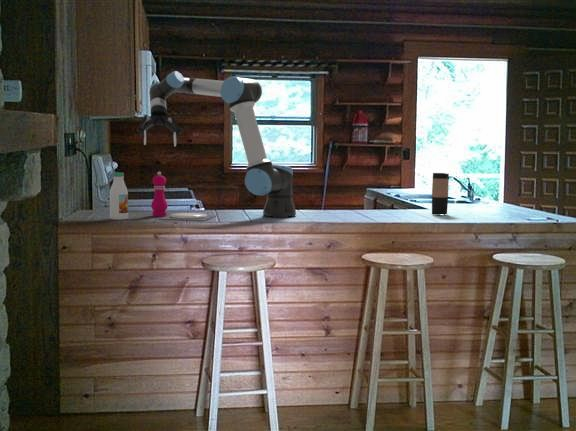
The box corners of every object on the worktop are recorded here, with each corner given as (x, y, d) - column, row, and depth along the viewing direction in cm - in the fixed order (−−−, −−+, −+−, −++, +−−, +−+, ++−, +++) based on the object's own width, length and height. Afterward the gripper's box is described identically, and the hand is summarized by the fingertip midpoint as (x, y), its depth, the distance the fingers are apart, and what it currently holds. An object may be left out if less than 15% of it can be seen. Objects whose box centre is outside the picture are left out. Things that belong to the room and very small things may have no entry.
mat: (216, 216, 325) (216, 215, 325) (204, 221, 305) (204, 220, 305) (174, 215, 328) (174, 214, 328) (159, 219, 309) (159, 218, 309)
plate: (211, 215, 323) (211, 213, 323) (200, 219, 307) (200, 217, 307) (177, 214, 326) (177, 212, 326) (165, 218, 310) (165, 216, 310)
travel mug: (429, 215, 345) (431, 173, 343) (432, 213, 352) (434, 172, 350) (445, 215, 342) (447, 173, 340) (448, 214, 349) (450, 173, 347)
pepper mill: (164, 217, 319) (163, 172, 317) (148, 216, 320) (148, 171, 318) (169, 215, 326) (169, 171, 324) (154, 214, 327) (154, 171, 325)
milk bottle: (112, 220, 303) (111, 173, 301) (107, 218, 310) (107, 172, 308) (130, 219, 307) (129, 172, 305) (125, 217, 314) (125, 172, 312)
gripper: (183, 117, 345) (186, 150, 333) (131, 113, 339) (131, 147, 326) (185, 106, 340) (188, 139, 327) (132, 102, 333) (132, 136, 321)
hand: (160, 143), depth 327 cm, fingers open, 13 cm apart
